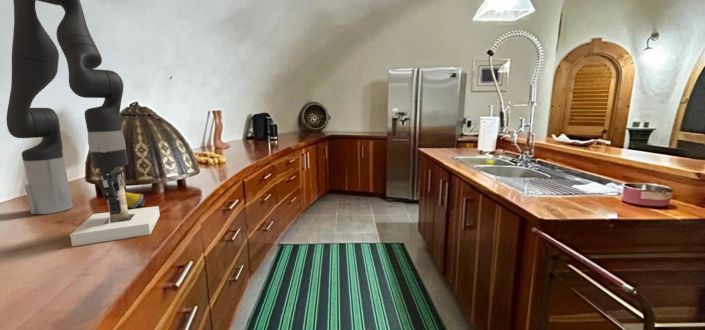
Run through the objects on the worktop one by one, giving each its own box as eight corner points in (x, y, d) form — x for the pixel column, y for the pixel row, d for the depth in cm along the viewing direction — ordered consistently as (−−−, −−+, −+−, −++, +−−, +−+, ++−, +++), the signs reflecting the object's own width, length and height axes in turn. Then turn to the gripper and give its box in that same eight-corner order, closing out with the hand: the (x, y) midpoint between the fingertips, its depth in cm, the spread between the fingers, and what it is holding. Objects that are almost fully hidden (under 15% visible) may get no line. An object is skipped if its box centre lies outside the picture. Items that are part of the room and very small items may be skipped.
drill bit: (148, 209, 103) (118, 194, 96) (136, 214, 104) (107, 200, 97) (152, 196, 106) (124, 181, 99) (142, 201, 108) (113, 187, 101)
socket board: (72, 246, 74) (70, 234, 74) (95, 224, 89) (93, 214, 88) (150, 234, 81) (148, 223, 80) (159, 215, 95) (158, 206, 94)
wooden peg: (109, 225, 82) (102, 189, 80) (113, 221, 85) (107, 186, 83) (127, 223, 83) (121, 187, 81) (131, 218, 87) (125, 184, 85)
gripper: (99, 146, 85) (109, 205, 89) (79, 153, 73) (92, 222, 76) (131, 144, 88) (140, 202, 92) (117, 150, 76) (128, 217, 79)
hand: (118, 210), depth 84 cm, fingers closed on wooden peg, 4 cm apart
